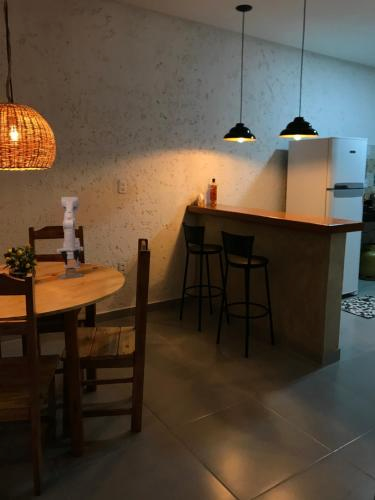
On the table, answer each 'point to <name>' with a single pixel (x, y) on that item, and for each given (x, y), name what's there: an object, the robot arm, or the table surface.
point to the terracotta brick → (71, 263)
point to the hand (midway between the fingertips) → (70, 264)
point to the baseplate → (71, 276)
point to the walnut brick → (70, 271)
